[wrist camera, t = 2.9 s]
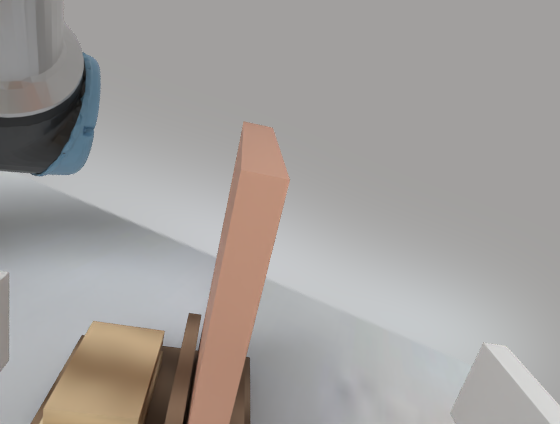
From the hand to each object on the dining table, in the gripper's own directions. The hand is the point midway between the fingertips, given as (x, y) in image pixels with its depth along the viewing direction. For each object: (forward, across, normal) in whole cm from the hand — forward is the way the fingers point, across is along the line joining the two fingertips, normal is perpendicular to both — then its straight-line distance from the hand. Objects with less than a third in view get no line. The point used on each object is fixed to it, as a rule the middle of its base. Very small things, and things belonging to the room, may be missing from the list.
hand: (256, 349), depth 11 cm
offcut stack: (+13, -7, -17) cm, 22 cm away
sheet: (+13, 0, -17) cm, 21 cm away
